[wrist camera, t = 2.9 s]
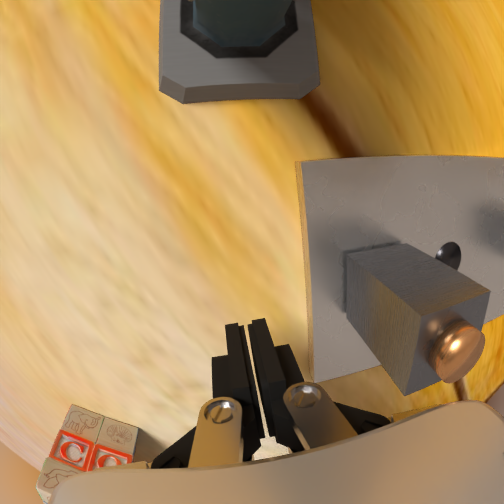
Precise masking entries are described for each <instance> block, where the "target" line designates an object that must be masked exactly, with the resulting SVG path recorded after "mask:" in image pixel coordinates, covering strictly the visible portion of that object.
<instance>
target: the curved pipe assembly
mask: <svg viewBox="0 0 504 504" xmlns="http://www.w3.org/2000/svg"><path fill="white" fill-rule="evenodd" d="M319 85H320V76H319V66H318V56H317V46H316V38H315V30H314V22H313V14H312V7H311V1H310V0H161V1H160V24H159V91H161V92H162V93H164V94H166V95H168V96H170V97H171V98H173V99H175V100H177V101H179V102H180V103H182V104H187V103H197V102H208V101H222V100H241V99H301V98H302V97H303V96H305V95H306V94H308V93H309V92H310V91H312V90H313V89H315V88H316V87H318V86H319Z"/></svg>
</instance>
